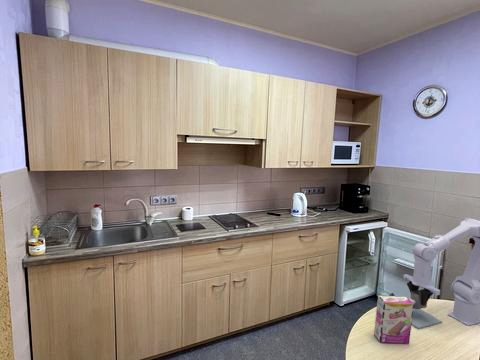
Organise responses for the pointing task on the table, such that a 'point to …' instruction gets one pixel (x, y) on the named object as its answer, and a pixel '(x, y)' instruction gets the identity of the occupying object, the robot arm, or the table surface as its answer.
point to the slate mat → (423, 319)
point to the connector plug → (417, 299)
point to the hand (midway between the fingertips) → (418, 302)
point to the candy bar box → (393, 319)
